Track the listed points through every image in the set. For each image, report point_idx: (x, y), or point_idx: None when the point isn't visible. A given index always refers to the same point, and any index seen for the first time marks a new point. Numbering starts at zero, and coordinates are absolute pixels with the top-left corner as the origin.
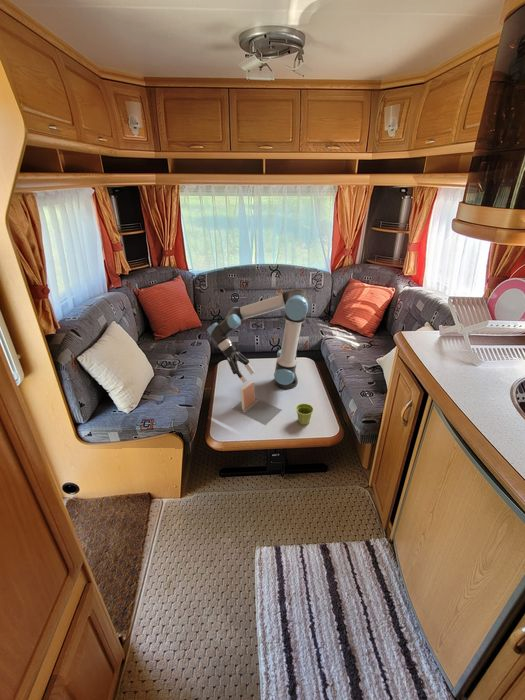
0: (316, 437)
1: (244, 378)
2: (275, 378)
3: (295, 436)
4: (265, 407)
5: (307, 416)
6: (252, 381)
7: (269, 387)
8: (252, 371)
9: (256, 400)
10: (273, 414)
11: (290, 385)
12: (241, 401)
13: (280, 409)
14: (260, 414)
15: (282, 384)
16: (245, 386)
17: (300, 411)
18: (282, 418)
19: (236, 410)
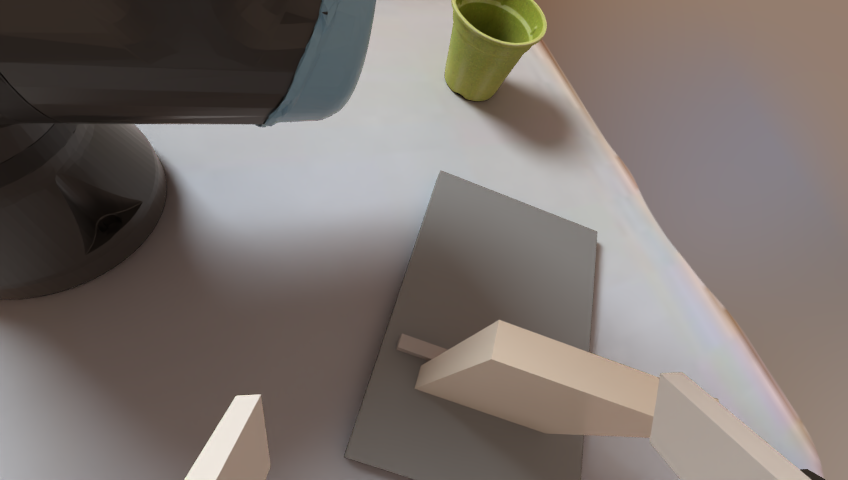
0: (539, 45)
1: (721, 415)
2: (355, 86)
3: (574, 109)
4: (457, 269)
5: (516, 22)
6: (504, 340)
7: (150, 318)
8: (250, 439)
9: (417, 351)
10: (500, 208)
11: (145, 137)
12: (593, 434)
13: (441, 179)
14: (534, 281)
15: (144, 189)
16: (645, 393)
17: (464, 62)
18: (491, 169)
19: (577, 474)
